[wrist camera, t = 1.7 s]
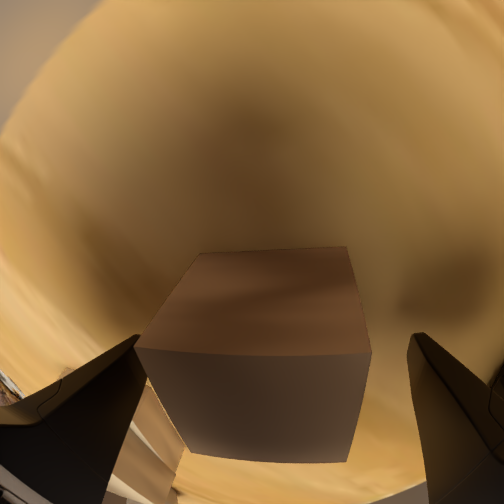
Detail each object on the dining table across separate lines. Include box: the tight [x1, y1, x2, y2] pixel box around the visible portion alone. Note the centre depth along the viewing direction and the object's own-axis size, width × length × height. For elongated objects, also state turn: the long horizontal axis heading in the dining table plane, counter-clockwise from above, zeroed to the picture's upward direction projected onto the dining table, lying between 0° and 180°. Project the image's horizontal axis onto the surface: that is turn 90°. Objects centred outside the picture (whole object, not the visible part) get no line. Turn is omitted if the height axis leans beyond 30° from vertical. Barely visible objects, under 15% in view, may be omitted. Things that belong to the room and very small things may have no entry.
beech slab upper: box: [106, 427, 176, 504], centre depth 13 cm, size 7×7×3 cm
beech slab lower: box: [57, 368, 185, 473], centre depth 16 cm, size 7×7×3 cm
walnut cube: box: [133, 247, 372, 463], centre depth 9 cm, size 5×5×5 cm
